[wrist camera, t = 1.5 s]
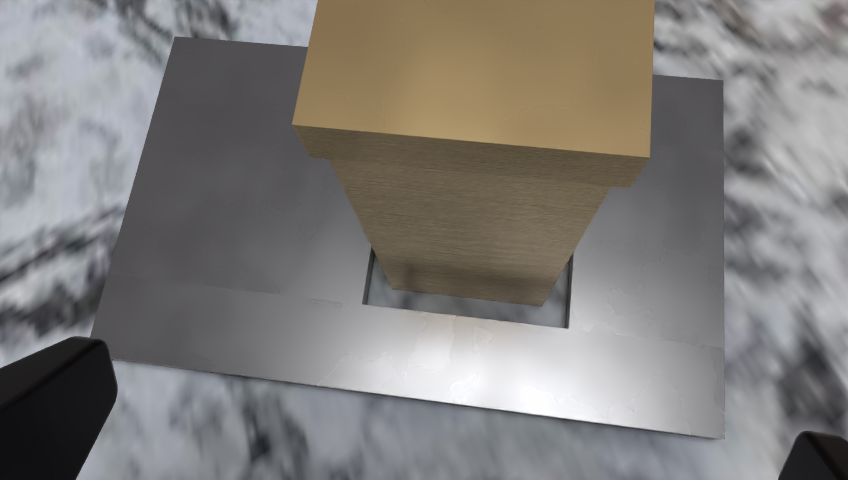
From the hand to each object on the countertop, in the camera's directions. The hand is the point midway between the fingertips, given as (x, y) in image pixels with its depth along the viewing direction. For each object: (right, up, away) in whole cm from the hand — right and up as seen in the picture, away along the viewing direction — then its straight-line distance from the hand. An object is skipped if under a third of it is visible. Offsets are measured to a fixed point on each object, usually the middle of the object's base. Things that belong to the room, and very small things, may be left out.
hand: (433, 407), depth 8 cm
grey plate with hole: (0, +3, +14) cm, 14 cm away
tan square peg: (+2, +3, +14) cm, 14 cm away
